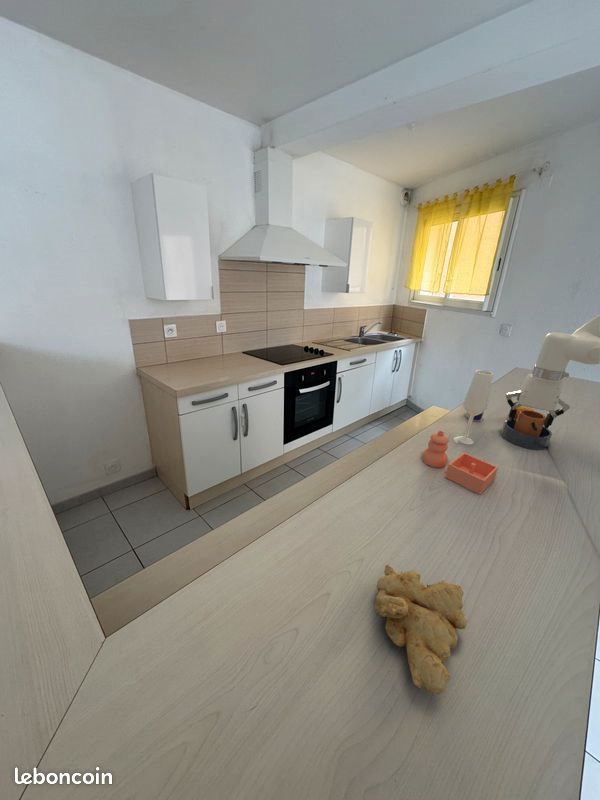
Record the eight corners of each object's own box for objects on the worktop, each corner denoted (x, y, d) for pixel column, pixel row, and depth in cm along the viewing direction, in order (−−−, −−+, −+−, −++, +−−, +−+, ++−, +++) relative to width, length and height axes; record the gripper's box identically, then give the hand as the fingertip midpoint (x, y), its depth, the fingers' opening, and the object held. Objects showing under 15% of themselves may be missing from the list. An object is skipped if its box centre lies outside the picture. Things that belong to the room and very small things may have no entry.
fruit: (514, 425, 115) (516, 403, 116) (504, 427, 123) (506, 406, 124) (539, 428, 114) (541, 406, 115) (528, 430, 121) (529, 409, 122)
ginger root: (400, 556, 61) (416, 532, 56) (476, 641, 51) (502, 620, 46) (339, 603, 52) (351, 580, 48) (415, 716, 43) (440, 700, 38)
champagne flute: (464, 448, 102) (484, 376, 92) (448, 437, 108) (467, 369, 98) (480, 445, 104) (502, 375, 94) (464, 435, 110) (484, 368, 100)
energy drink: (462, 419, 121) (471, 389, 117) (468, 415, 125) (476, 386, 120) (477, 424, 118) (486, 394, 113) (482, 420, 121) (491, 391, 117)
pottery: (493, 480, 87) (504, 449, 83) (479, 494, 81) (490, 461, 77) (431, 451, 99) (438, 423, 95) (415, 462, 93) (421, 432, 89)
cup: (533, 437, 110) (543, 412, 106) (540, 454, 100) (551, 427, 96) (510, 432, 112) (518, 407, 109) (514, 448, 102) (524, 422, 99)
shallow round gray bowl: (542, 437, 111) (547, 424, 109) (550, 455, 100) (556, 441, 98) (498, 428, 116) (502, 415, 114) (502, 444, 105) (507, 431, 103)
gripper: (577, 375, 99) (556, 425, 106) (513, 365, 105) (497, 412, 112) (585, 382, 93) (562, 434, 99) (516, 371, 99) (499, 421, 106)
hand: (528, 423), depth 106 cm, fingers open, 9 cm apart
